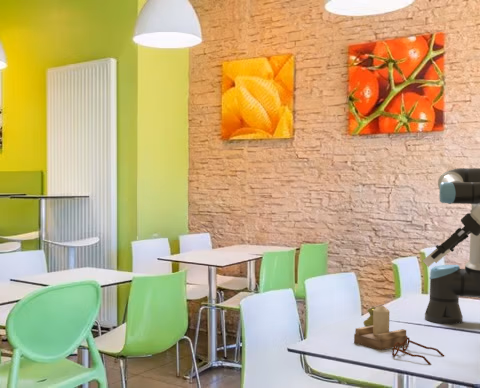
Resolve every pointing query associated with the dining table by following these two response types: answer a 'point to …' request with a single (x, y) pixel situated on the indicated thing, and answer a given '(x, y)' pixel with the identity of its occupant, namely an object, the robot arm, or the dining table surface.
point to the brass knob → (369, 320)
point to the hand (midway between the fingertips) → (429, 262)
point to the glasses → (410, 353)
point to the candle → (380, 320)
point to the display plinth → (379, 338)
